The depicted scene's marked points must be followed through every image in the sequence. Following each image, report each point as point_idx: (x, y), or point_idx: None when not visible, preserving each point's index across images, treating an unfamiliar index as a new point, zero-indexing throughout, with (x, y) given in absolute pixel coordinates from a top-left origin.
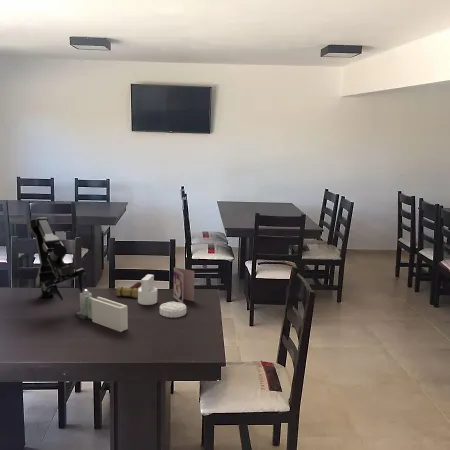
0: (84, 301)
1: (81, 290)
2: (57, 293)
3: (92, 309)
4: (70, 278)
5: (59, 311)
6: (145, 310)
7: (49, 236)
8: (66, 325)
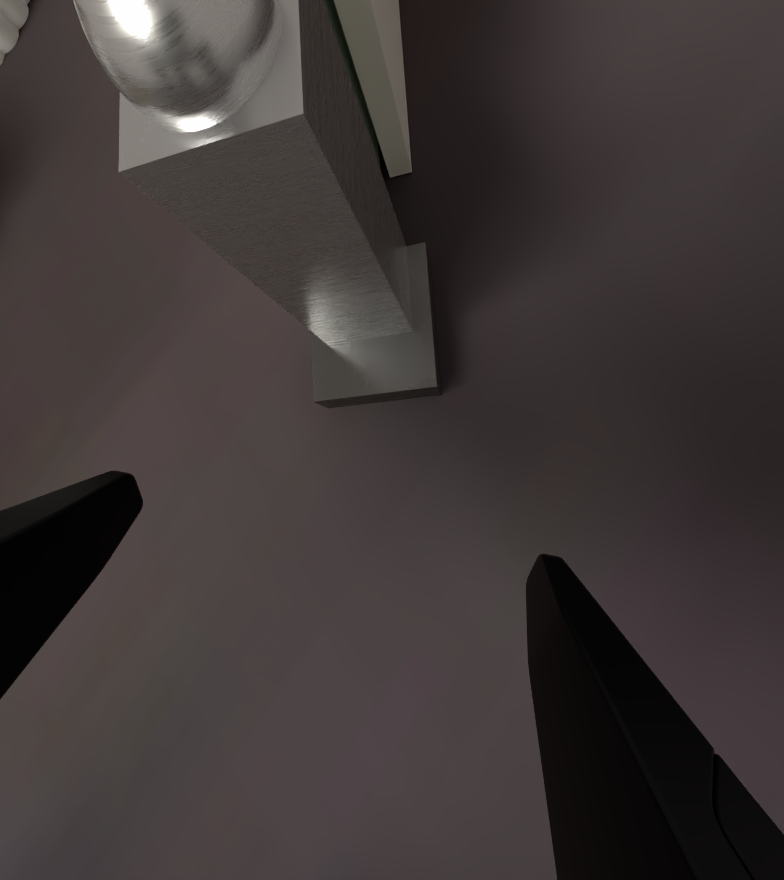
0: (354, 108)
1: (93, 487)
2: (715, 760)
3: (376, 22)
4: None
5: (484, 645)
6: (27, 141)
7: None
8: (666, 234)
